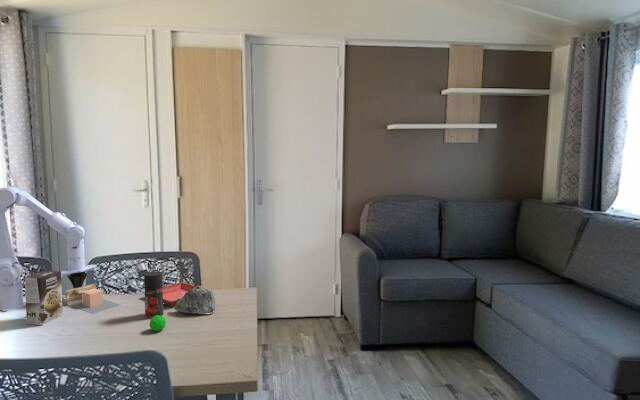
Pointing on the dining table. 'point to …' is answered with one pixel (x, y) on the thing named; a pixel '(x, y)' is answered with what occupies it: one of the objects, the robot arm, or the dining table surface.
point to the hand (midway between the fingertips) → (77, 292)
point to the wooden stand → (77, 294)
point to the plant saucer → (170, 291)
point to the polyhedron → (157, 323)
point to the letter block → (92, 297)
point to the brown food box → (43, 297)
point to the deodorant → (153, 294)
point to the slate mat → (94, 309)
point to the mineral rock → (197, 301)
